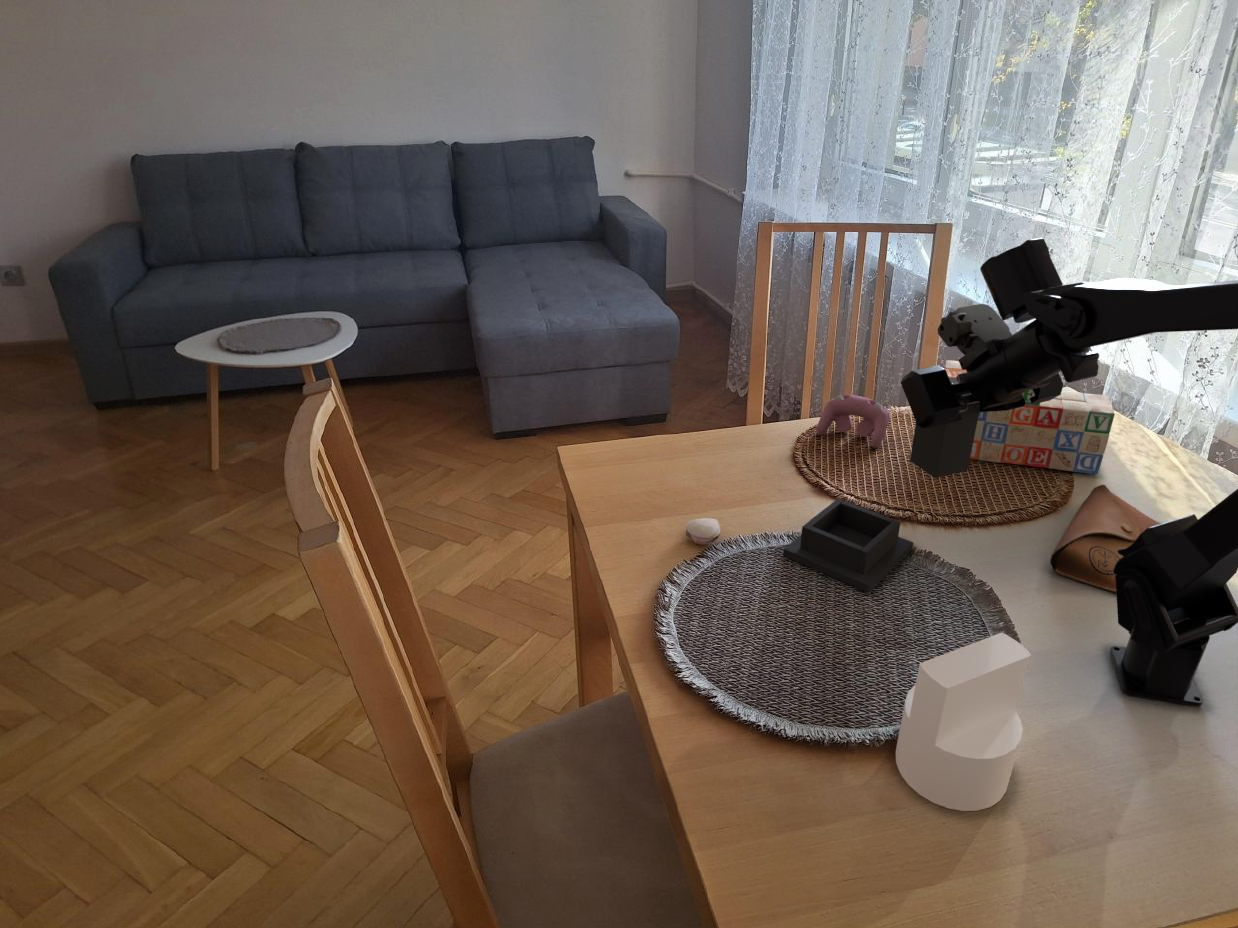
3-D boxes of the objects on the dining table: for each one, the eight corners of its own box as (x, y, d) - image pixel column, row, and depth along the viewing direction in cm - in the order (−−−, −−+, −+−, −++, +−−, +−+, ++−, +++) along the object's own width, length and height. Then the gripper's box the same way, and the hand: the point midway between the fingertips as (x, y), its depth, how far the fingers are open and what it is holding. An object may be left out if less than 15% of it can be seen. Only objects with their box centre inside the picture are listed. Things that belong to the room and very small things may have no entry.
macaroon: (679, 541, 101) (679, 523, 100) (700, 522, 105) (701, 505, 104) (709, 552, 99) (709, 535, 98) (730, 533, 102) (731, 516, 101)
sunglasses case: (1132, 595, 89) (1111, 540, 88) (1063, 600, 94) (1043, 549, 93) (1163, 521, 101) (1144, 472, 100) (1101, 530, 106) (1082, 483, 105)
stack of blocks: (1092, 455, 117) (1115, 374, 111) (1098, 476, 112) (1122, 392, 106) (932, 435, 124) (945, 358, 118) (930, 454, 119) (944, 374, 113)
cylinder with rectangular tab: (947, 827, 66) (974, 716, 60) (873, 746, 73) (891, 641, 67) (1032, 787, 69) (1065, 678, 63) (953, 713, 76) (976, 610, 70)
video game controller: (885, 450, 123) (896, 404, 123) (878, 449, 119) (890, 401, 119) (821, 435, 128) (832, 390, 127) (812, 433, 124) (823, 388, 123)
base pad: (912, 549, 98) (917, 520, 97) (868, 592, 92) (872, 563, 90) (830, 517, 105) (833, 490, 103) (782, 555, 98) (785, 527, 96)
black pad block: (967, 470, 101) (982, 395, 96) (935, 478, 99) (949, 402, 94) (940, 453, 105) (954, 380, 100) (909, 461, 103) (921, 387, 98)
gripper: (1066, 277, 90) (976, 341, 105) (925, 301, 85) (850, 365, 99) (1109, 370, 88) (1010, 422, 102) (966, 400, 82) (883, 451, 96)
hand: (939, 413), depth 100 cm, fingers closed on black pad block, 5 cm apart
